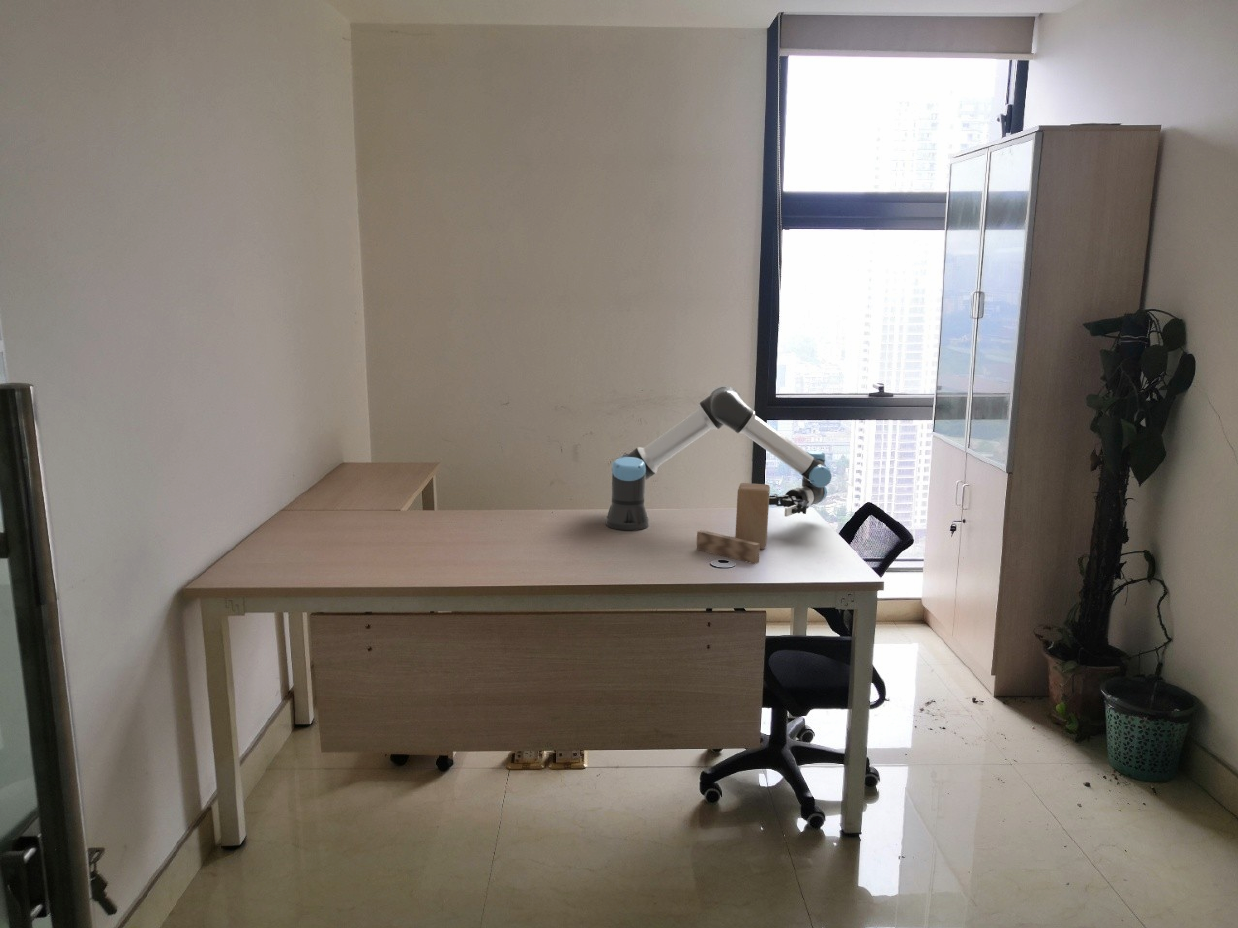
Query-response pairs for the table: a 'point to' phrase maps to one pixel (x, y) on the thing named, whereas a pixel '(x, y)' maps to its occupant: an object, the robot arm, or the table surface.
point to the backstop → (728, 546)
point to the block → (752, 513)
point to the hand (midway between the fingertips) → (767, 508)
